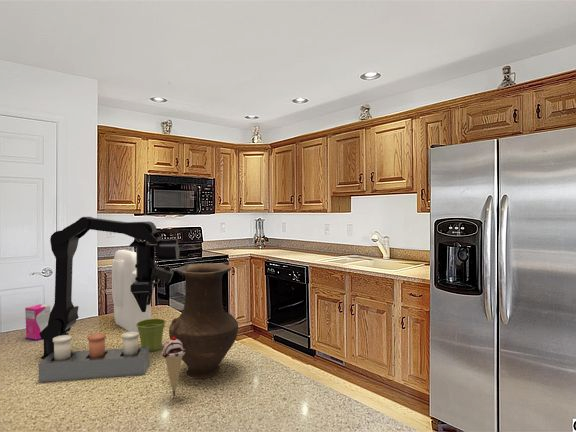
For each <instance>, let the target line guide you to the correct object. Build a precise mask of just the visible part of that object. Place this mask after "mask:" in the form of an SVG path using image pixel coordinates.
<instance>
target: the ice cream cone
mask: <svg viewBox="0 0 576 432" xmlns="http://www.w3.org/2000/svg"><path fill="white" fill-rule="evenodd" d="M185 352H186V351H185V349H184V348H183V345H182V343H181V340H178V339H176V338H175V337H172V338H171V339H170V338H169V340H167V341H166V342H165V343H164V346H163V350H162V351H161V356H162V358H164V360H165V363H166V369H167V372H168V376H169V380H170V381H169V382H170V386H171V390H172V394H173V397H175V396H176V390H177V385H178V381H179V375H180V371H181V365H182V362H183V360H182V356H183V355H184V354H185Z"/></svg>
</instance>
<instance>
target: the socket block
mask: <svg viewBox="0 0 576 432" xmlns="http://www.w3.org/2000/svg"><path fill="white" fill-rule="evenodd" d="M37 365H38V368H37V369H38V383H51V382H65V381H74V380H75V381H76V380H89V379H102V378H114V377H115V378H118V377H129V376H141V375H142V376H143V375H145V374H146V372H147V370H148V368H149V365H150V350H149V347H140V346H138V355H133V356H123V348H110V349H105V356H104V358H89V350H79V351H71V358H70V359H69V360H59V361H54V353H51V354H49V355H48V356H47V357H46V358H43V359H42V361H40V362H39V363H38V364H37Z"/></svg>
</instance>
